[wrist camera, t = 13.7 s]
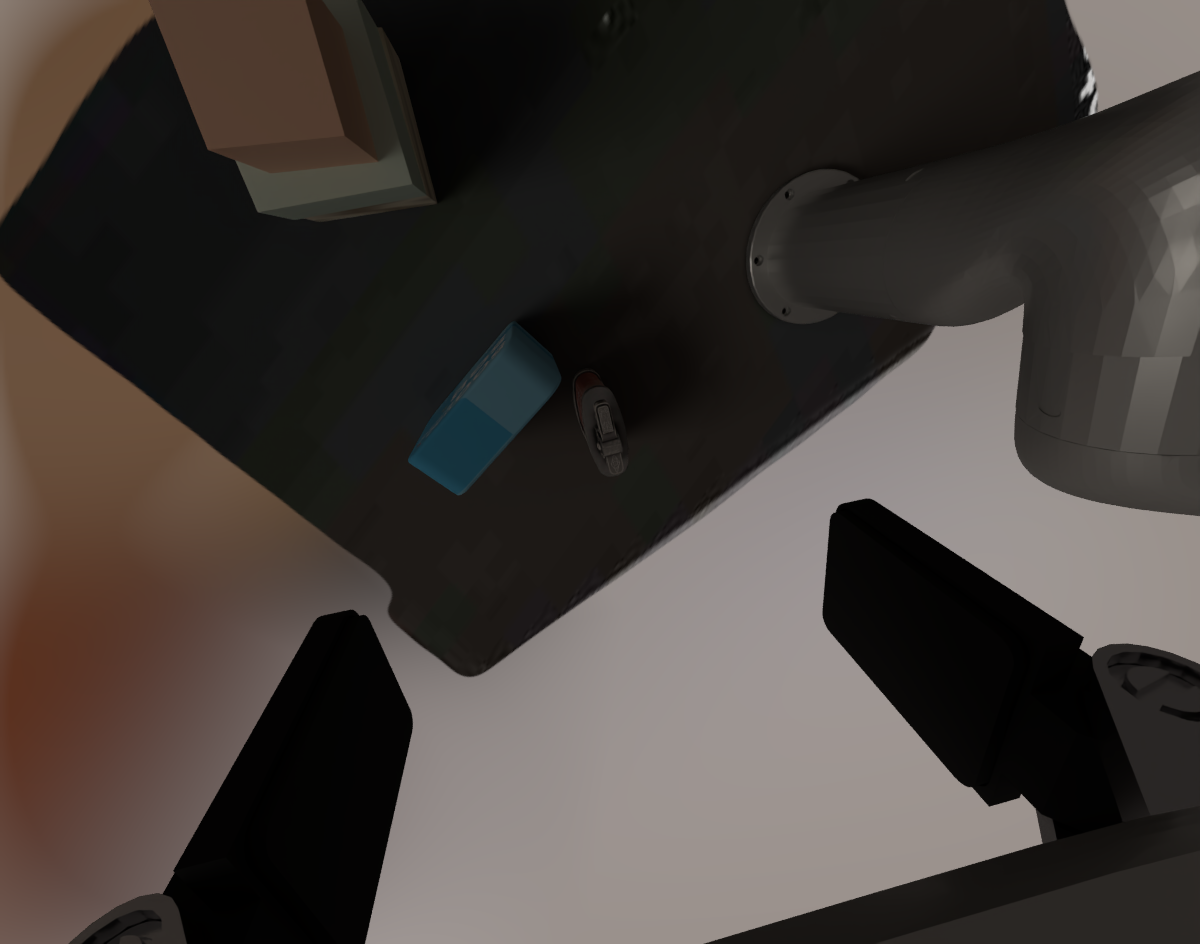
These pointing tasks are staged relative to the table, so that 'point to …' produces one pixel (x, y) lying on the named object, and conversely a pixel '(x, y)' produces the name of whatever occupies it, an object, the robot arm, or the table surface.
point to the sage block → (388, 129)
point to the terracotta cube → (268, 81)
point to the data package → (486, 410)
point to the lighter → (600, 422)
